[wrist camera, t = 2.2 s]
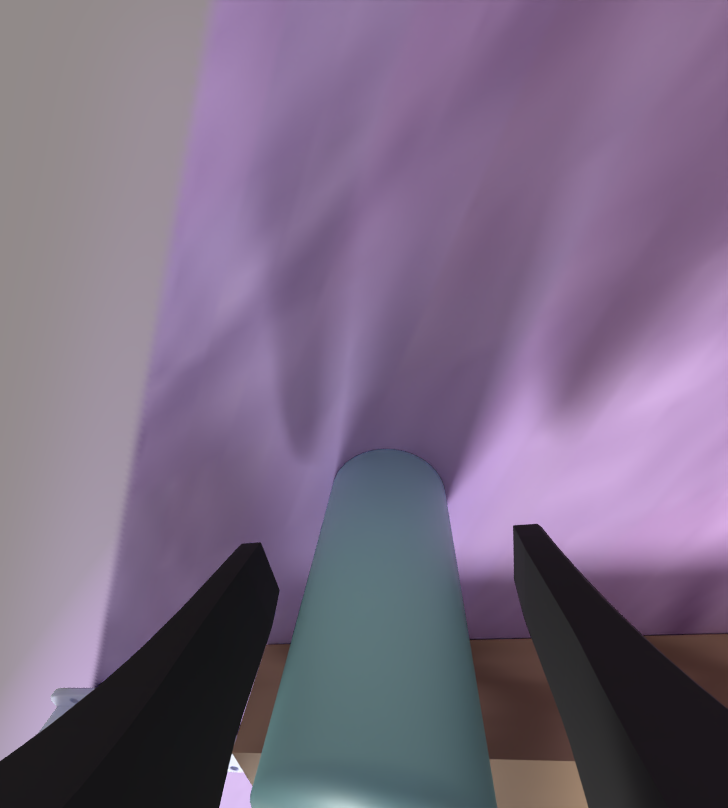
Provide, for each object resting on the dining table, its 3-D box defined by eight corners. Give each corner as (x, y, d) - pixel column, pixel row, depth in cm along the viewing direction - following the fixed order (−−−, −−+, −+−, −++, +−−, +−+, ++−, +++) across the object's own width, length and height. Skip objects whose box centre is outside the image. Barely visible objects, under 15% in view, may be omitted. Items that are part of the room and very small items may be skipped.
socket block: (330, 786, 23) (317, 888, 20) (266, 644, 18) (231, 752, 14) (687, 799, 20) (749, 924, 17) (751, 633, 14) (868, 768, 11)
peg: (344, 542, 14) (286, 862, 7) (320, 455, 13) (215, 754, 5) (449, 535, 14) (503, 877, 6) (439, 442, 12) (496, 763, 5)
